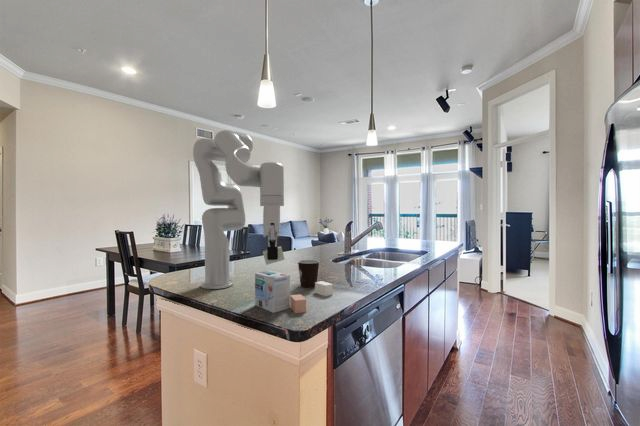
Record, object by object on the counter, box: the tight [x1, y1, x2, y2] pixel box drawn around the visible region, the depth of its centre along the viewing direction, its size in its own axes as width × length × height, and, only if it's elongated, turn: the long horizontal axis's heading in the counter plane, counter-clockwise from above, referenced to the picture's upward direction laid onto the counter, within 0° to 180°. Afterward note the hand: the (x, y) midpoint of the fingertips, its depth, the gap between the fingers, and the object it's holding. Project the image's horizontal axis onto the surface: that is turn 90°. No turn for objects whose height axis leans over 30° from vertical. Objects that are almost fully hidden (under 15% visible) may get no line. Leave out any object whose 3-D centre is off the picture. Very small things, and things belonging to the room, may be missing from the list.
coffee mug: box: [297, 259, 320, 289], centre depth 127 cm, size 12×9×10 cm
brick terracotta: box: [289, 293, 307, 314], centre depth 97 cm, size 6×4×4 cm, turn 20°
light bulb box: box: [254, 269, 291, 314], centre depth 100 cm, size 11×7×11 cm, turn 44°
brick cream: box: [314, 280, 334, 297], centre depth 115 cm, size 6×4×4 cm, turn 40°
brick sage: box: [262, 245, 286, 266], centre depth 99 cm, size 6×4×4 cm, turn 99°
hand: (272, 257), depth 99 cm, fingers closed on brick sage, 3 cm apart
